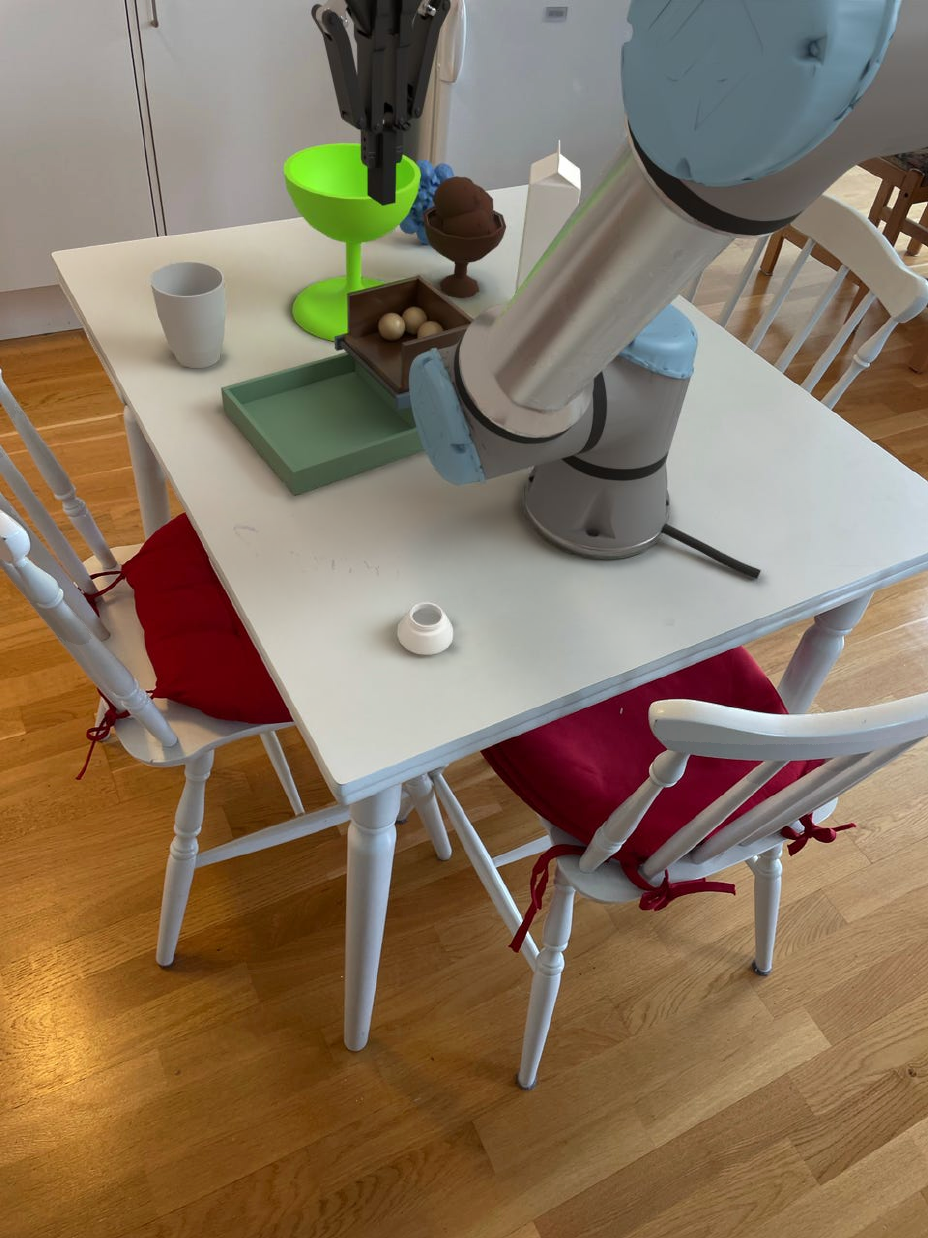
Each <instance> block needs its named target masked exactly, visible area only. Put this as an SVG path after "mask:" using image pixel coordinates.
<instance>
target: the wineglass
mask: <svg viewBox="0 0 928 1238" xmlns="http://www.w3.org/2000/svg"><path fill="white" fill-rule="evenodd" d="M415 163H416V162H415V161H414V160H412V159H411V158H410V157H408V156H406V155H404V154H403V157H402V160H401V163H396V203H393V204H388V205H384V206H382V205H381V204H379V203H378V202H376V201H375V200H374V199H372V198H371V197H369V196H368V195H367V166H365V165H364V164H363V163H362V161H361V143H355V142H354V143H352V142H349V143H348V142H337V143H324V144H319V145H314V146H310V147H307V148H304V149H301V150H299V151H297V152H295V153H293V154H292V155H290V156H289V157H288V158H287V159H286V161H285V162H284V163H283V175H284V181H285V185H286V186H285V187H286V190H287V193H288V195H289V196H290V200H291V201H292V203H293V206H294V207H295V209H296V211H297V212H298V214H299V215H300V216H301V217H302V218H303V219H304V220H305V222H306V223H307V224H308V225H309V226H310V227H312V229H314V230H315V231H317V232H319V233H320V234H322V235H325V237H327V238H330V239H331V240H334V241H337V242H342V243H345V276H338V277H332V278H331V277H330V278H327V279H323V280H319V281H317V282H315V283H312V284H310V285H309V286H307V287H305V288H304V289H303V290H302V291H301V292H300V293H298V295H297V296H296V298H295V300H294V302H293V304H292V317H293V318H294V321H295V322H296V324H297V325H298V326H299V327H301V328H302V329H303V331H305V332H307V333H309V334H311V335H313V336H314V337H318V338H321V339H322V340H323V339H324V340H328V341H330V342H335V340H334V337H335V336H338V335H342V334H345V333H348V325H347V293H350V292H354V291H358V290H362V289H366V288H370V287H374V286H378V285H382V284H386V283H387V282H386V281H382V280H379V279H376V278H368V277H363V276H362V244H364V243H370V242H373V241H376V240H379V239H381V238H382V237H384V236H386V235H388V234H390V233H391V232H393V231H394V230H396V229H397V228H398V227H399V226H400V225H399V224H400V223H401V222H402V221H403V220H404V219H405V218H406V216H407V215H408V214H409V212H410V209H411V207H412V205H413V203H414V201H415V199H416V196H417V194H418V189H419V183H420V177H421V174H420V169H419V167H418V166H417V165H416V164H415Z"/></svg>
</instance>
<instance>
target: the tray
mask: <svg viewBox="0 0 928 1238" xmlns="http://www.w3.org/2000/svg"><path fill="white" fill-rule="evenodd" d="M220 393H221V399H222V408H223V411H224V412H225V413H226V415H227V416H228V417H229V419H230V420H231V421H232V422H233V423H234V425H235V426H236V427H237V428H238V429H239V430H240V432H241V433H242V434H243V435H244V436H245V438H246V439H247V440H248V441H249V442H250V444H251V445H252V446H253V447H254V448H255V449H256V451H257V452H258V454H260V456H261V457H262V458H263V459H264V461H266V463H267V464H268V465H269V466H270V468H271V469H272V470H273V471H274V472H275V474H276V475H277V476H278V477H279V478H280V479H281V481H282V482H283V484H285V485H286V487H287V488H288V489H289V491H290V492H291V493H292V494H293V495H294V496H298V495H300V494H303V493H305V492H308V491H312V490H315V489H317V488H321V487H323V486H326V485H329V484H332V483H334V482H338V481H340V480H343V479H347V478H349V477H352V476H354V475H357V474H360V473H361V474H362V473H363V472H366V471H369V470H373V469H375V468H378V467H380V466H383V465H386V464H389V463H392V462H395V461H398V460H401V459H403V458H407V457H410V456H412V455H416V454H419V453H421V452H423V451H425V449H424V447H423V445H422V442H421V439H420V436H419V433H418V430H417V427H416V423H415V420H414V416H413V411H412V406H411V407H407V408H404V409H401V410H397V409H396V408H395V398H393V397H392V396H391V395H390V394H389V393H388V392H387V391H386V390H385V389H384V388H383V387H382V386H381V385H380V384H379V383H378V382H377V381H376V380H375V379H374V378H373V377H372V376H371V375H370V374H369V373H368V372H367V371H366V370H365V369H364V368H362V367H361V366H360V365H359V364H358V363H357V362H356V361H355V360H354V359H353V358H352V357H351V356H350V355H349V354H348V353H347V352H346V351H344V352H341V353H338V354H335V355H331V356H328V357H324V358H320V359H316V360H314V361H310V362H307V363H303V364H299V365H296V366H292V367H288V368H286V369H282V370H278V371H274V372H271V373H268V374H264V375H260V376H257V377H254V378H253V377H252V378H250V379H247V380H243V381H239V382H236V383H232V384H228V385H225V386H222V387H220Z"/></svg>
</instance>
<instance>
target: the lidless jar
mask: <svg viewBox="0 0 928 1238" xmlns="http://www.w3.org/2000/svg"><path fill="white" fill-rule="evenodd" d="M396 633H397V634H396V637H397V638H398V640H399V643H400V644H401V645H402V646H403V647H404V648H405V649H406V650H407V651H410V652H412V653H414V654H417V655H423V656H424V655H426V656H430V655H435V654H439V653H442V652H443V651H445V650H446V649H448V648H449V646H451V644H452V642H453V640H454V627H453V625H452V622H451V621H450V620H449V618H448V617H447V614H446V613H445V612H444V611H443V609H442V608H441V607H440V606H439V605H438V604H435V603H433V602H429V601H426V602H425V601H424V602H419V603H417V604H415V605H413V607H412V608H411V609H410V610H409V611H408V612H407V613H406V614H405V616H403V618H402V619H401V621H399V623H398V626H397V632H396Z"/></svg>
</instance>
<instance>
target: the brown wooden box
mask: <svg viewBox="0 0 928 1238" xmlns="http://www.w3.org/2000/svg"><path fill="white" fill-rule="evenodd" d="M410 307H418V308H420V309H422V310H423V311H424V312H425V314H426V316H427V322H428V321H434V322H437V323H438V324H440V325H441V327H442V328H443V330H444V331H443V332H439V333H436V334H432V335H429V336H425V337H422V338H418V334H410V333H408V332H406V331H404V334H403V335H402V337H401V338H399V339H398V340H394V341H390V340H386V339H385V338H383V337H382V336H381V334H380V332H379V328H378V325H379V321H380V319H381V318H382V317H383V316H384V315H385V314H388V313H395V314H398V315H399V316H400V317H402V314H403V313H404V311H405V310H406V309H408V308H410ZM474 319H475V318H473V317H471V315H470V314H468V313H467V312H466V311H464V310H463V309H462V308H461V307H460V306H458V305H457V304H455V302H453V301H452V300H451V299H449V297H447V296H446V295H445V294H443V292H442V291H441V290H438V289H437V288H436V287H435V286H433V285H432V284H431V283H430V282H429V281H427V280H426V279H425V278H424V277H423V276H421V274H418V275H414V276H411V277H406V278H402V279H399V280H395V281H390V282H386V284H382V285H378V286H374V287H370V288H366V289H362V290H358V291H354V292H350V293H347V325H348V333H345V334H343V341H341V342H340V346H341V347H342V348H343V350H344V352H347V353H348V354H349V355H350V356H351V357H352V358H353V359H354V360H355V361H356V362H357V363H358V364H359V365H360V366H361V367H362V368H364V369H365V370H366V371H367V372H368V373H369V374H370V375H371V376H372V377H373V378H374V379H375V380H376V381H377V382H378V383H379V384H380V385H381V386H382V387H383V388H384V389H385V390H386V391H387V392H388V393H389V394H390V395H391V396H392V397H393V398H396V395H399V394H402V393H405V392H408V391H409V373H410V368H411V364H412V362H413V360H414V359H415V358H416V357H417V356H418V355H420V354H422V353H425V352H428V351H430V350H431V349H432V348H437V350H438V349H443V348H447V347H451V346H453V345H455V344H457V343H458V342H459V340H460V339H461V337H462V336H463V334H464V333H465V332H466V330H467V328H468V327H469V325H470V324H471V323H472V322H473V320H474Z"/></svg>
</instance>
